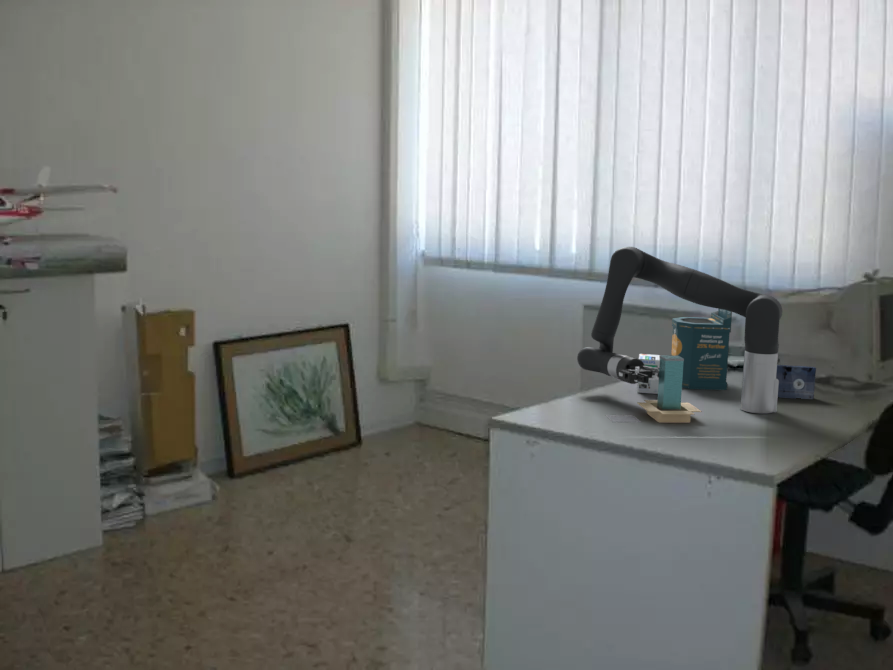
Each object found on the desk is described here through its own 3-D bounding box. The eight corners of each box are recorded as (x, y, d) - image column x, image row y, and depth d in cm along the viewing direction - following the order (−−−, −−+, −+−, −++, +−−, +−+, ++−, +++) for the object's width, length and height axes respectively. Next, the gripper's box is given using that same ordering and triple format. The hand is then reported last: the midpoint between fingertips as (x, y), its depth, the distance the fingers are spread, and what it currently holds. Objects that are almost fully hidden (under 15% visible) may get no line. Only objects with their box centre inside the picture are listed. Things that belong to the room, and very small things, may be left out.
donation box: (726, 390, 326) (732, 302, 322) (676, 388, 326) (681, 301, 322) (714, 380, 342) (720, 296, 337) (665, 378, 342) (670, 295, 338)
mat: (633, 416, 285) (633, 415, 285) (641, 423, 277) (641, 422, 277) (605, 416, 284) (605, 415, 284) (612, 423, 276) (612, 421, 276)
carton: (684, 412, 292) (684, 400, 292) (704, 426, 276) (705, 413, 275) (633, 412, 291) (634, 400, 290) (650, 426, 274) (651, 413, 274)
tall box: (674, 415, 286) (677, 355, 283) (680, 419, 281) (683, 358, 278) (656, 415, 285) (659, 355, 283) (662, 419, 280) (665, 358, 278)
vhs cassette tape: (812, 398, 317) (815, 366, 316) (814, 400, 314) (816, 368, 313) (751, 394, 320) (753, 363, 319) (752, 396, 317) (754, 364, 316)
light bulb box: (658, 394, 316) (660, 360, 315) (636, 393, 318) (638, 358, 316) (658, 387, 327) (660, 354, 325) (637, 386, 328) (639, 353, 326)
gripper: (606, 357, 296) (639, 367, 282) (646, 354, 303) (681, 364, 288) (605, 382, 298) (638, 393, 283) (645, 379, 304) (680, 390, 289)
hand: (660, 378), depth 286 cm, fingers open, 8 cm apart
